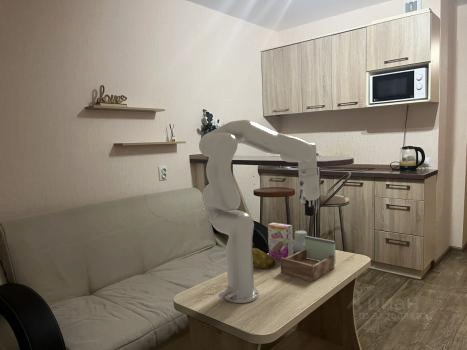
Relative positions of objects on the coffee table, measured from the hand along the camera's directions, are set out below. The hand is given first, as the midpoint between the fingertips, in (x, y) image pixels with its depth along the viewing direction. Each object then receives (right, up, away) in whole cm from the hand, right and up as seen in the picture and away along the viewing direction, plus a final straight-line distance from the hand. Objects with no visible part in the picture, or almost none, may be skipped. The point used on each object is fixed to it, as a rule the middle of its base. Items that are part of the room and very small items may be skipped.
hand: (309, 215), depth 146 cm
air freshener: (+2, -21, +25) cm, 33 cm away
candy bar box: (-10, -23, +17) cm, 30 cm away
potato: (-20, -24, +8) cm, 32 cm away
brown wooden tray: (0, -24, +1) cm, 24 cm away
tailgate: (+6, -21, +7) cm, 23 cm away
